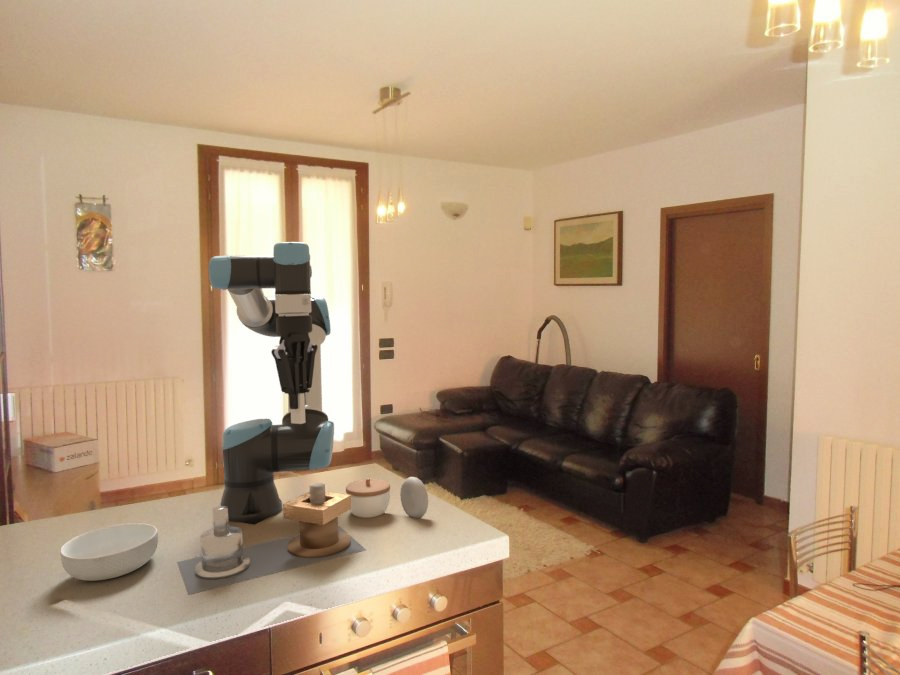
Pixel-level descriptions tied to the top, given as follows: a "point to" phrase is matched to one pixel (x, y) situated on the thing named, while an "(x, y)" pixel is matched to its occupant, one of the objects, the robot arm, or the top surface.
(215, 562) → the pale stepped hub
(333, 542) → the walnut hub
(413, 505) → the grey piece
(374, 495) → the lidded jar
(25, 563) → the top surface
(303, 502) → the wooden square ring
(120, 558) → the cereal bowl
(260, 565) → the rubber mat
